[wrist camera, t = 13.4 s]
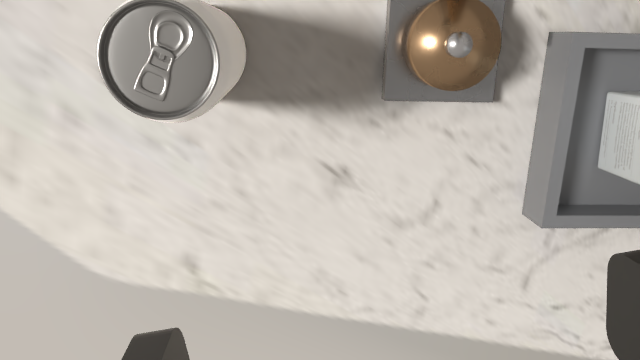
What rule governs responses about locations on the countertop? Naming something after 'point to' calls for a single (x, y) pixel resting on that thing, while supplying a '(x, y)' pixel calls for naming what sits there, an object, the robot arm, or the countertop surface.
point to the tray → (580, 133)
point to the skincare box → (621, 136)
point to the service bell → (442, 50)
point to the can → (170, 57)
